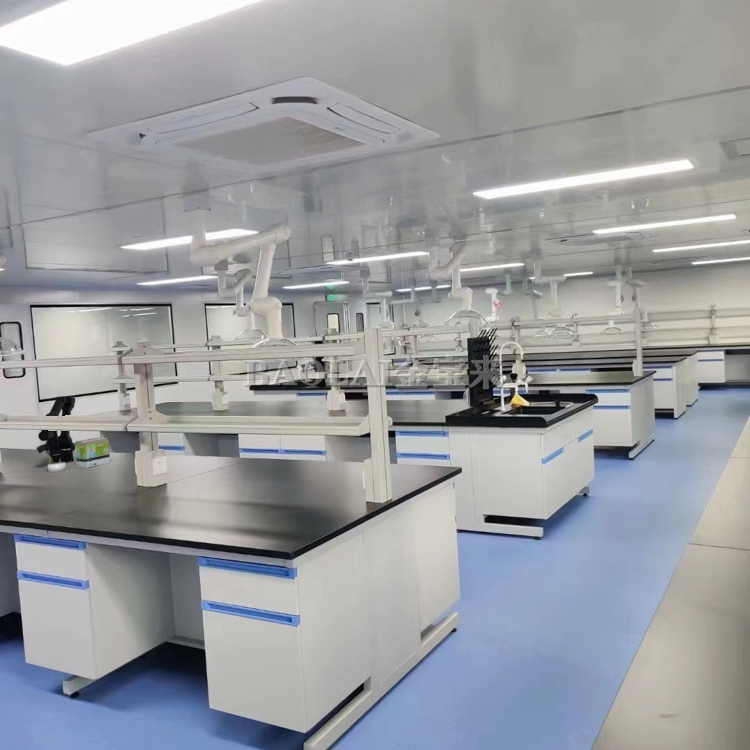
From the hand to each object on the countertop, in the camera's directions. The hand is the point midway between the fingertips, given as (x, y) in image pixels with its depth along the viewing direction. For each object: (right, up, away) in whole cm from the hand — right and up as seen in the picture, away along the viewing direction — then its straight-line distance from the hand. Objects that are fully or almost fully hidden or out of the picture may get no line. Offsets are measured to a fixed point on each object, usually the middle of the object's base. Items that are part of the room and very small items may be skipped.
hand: (54, 465), depth 377 cm
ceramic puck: (+6, -2, -10) cm, 12 cm away
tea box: (+22, 0, 0) cm, 22 cm away
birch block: (0, -1, 0) cm, 1 cm away
